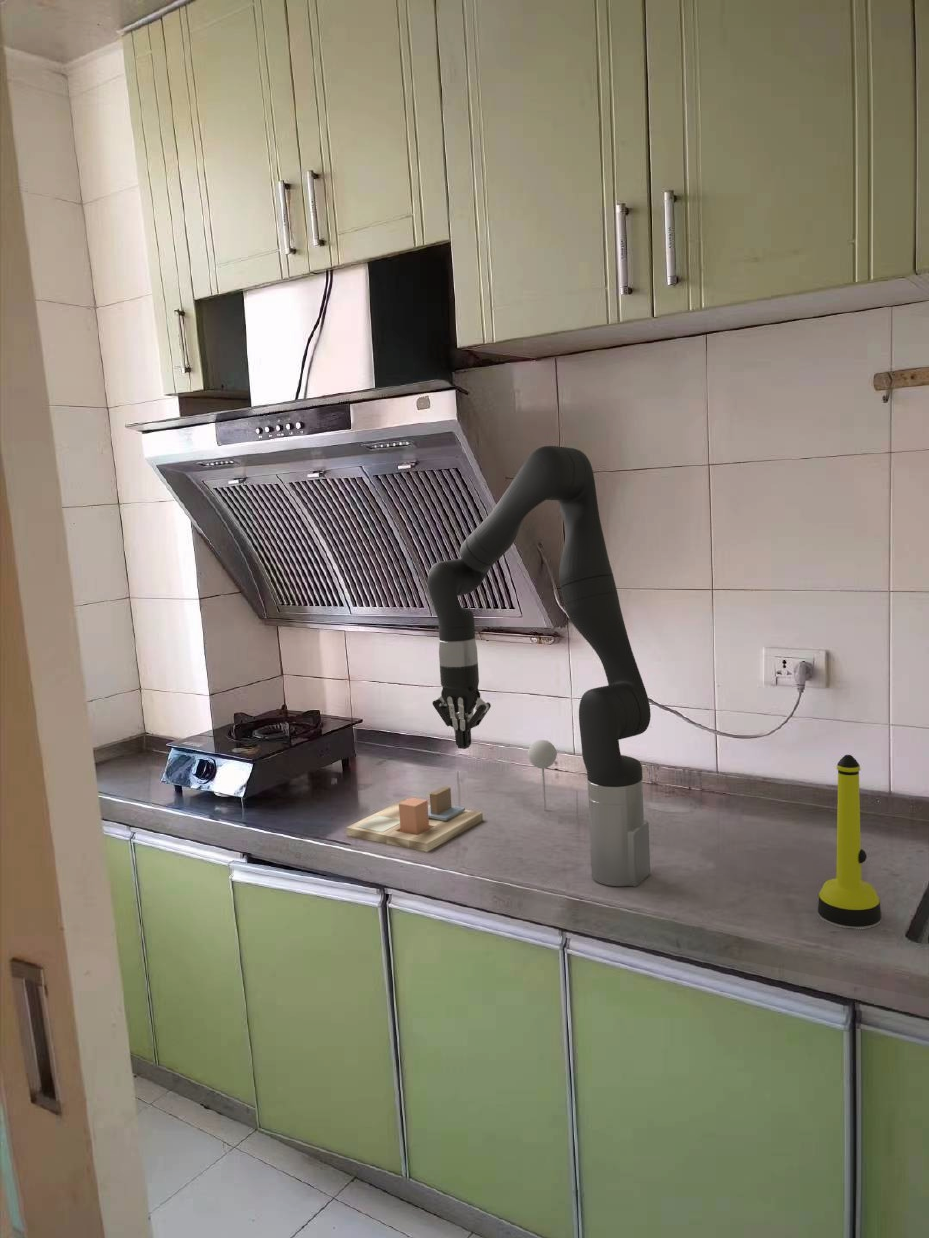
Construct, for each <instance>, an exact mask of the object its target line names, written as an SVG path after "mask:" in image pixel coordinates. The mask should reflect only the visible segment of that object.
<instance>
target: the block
mask: <svg viewBox="0 0 929 1238" xmlns="http://www.w3.org/2000/svg"><path fill="white" fill-rule="evenodd" d="M406 799H407V800H405V801H403V802H401V803H399V815H400V830H401V832H403V833H408V834H413V835H419V834H421V833H423V832H425V831H426V830H428V829H429V817H428V803H429V802H428V799H422V798H421V799H420V798H418V797H417V798H414V797H410V798H406Z"/></svg>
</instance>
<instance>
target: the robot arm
mask: <svg viewBox="0 0 929 1238" xmlns="http://www.w3.org/2000/svg"><path fill="white" fill-rule="evenodd" d="M595 480H596V479H595V475H594V470H593V466H592V464H591V462H590V459H589V458H588V456H587V455H586V454H585V453H584V451H581V450H579V449H577V448H573V447H566V446H559V445H557V446H556V445H555V446H554V445H544V446H540V447H538V448H537V449H535V450H534V451H533V452H532V453H531V454H530V455H529V456H528V458H527V459H526V460H525V461H524V463H523V464H522V466H521V467H520V469H519V470H518V472H517V473H516V475H515V476H514V478H513V480H512V481H511V483H510V484H509V486H508V488H507V489H506V490H505V492H504V493H503V494H502V496H501V497H500V499H499V500H498V502H497V504H495V507H494V508H493V509H492V510H491V512H489V514H488V515H487V516H486V518H485V519H484V520H483V521H482V522H481V523H480V524H479V525H478V526H477V527H475V529H474V530H473V531H472V532H471V533H470V534H469V535H468V536H467V537H466V539H465V540H464V541H463V542H462V543H461V546H460V549H459V553H460V557H459V558H456V559H449V560H442V561H437V562H436V563H434V564H433V565H432V566H431V568H430V569H429V572H428V575H427V588H428V589H427V590H428V592H429V596H430V599H431V601H432V605H433V608H434V612H435V613H436V614H435V615H436V616H437V621H438V638H439V642H438V643H439V644H438V646H439V647H438V658H439V659H438V661H439V675H440V677H439V678H440V686H442V689H441V693H440V697H438V698H437V699H434V700H433V701H432V706H433V707H434V709H435V710H436V712H437V714H438V715H439V716H440V718H441V719H442V721H443V722H444V724H445V725H446V727H452V729H453V730H454V735H455V744H456V746H457V748H458V749H462V750H466V749H469V747H470V746H471V745H472V729H473V728H476V727H478V726H479V725H480V724H481V722H482V721H483V719H484V717H485V716H486V715H487V713H488V712H489V710H490V708H491V706H492V705H491V703H490V702H486V701H484V700H483V699H482V698H481V693H480V691H479V682H480V679H479V677H480V675H479V673H480V672H479V660H478V657H479V656H478V647H477V642H476V629H475V628H476V627H475V616H474V613H473V611H472V610H471V609H469V608H466V607H462V606H461V603H460V600H459V596H463V595H468V594H470V593H472V592H474V591H475V590H476V589H477V588H479V587H480V586H481V584H482V583H483V581H484V580H485V578H486V576H487V575H488V573H489V572H490V569H491V567H492V566H493V565H494V564H495V563H496V562H498V561H499V560H500V558H502V556H503V555H505V553H507V551H508V550H510V548H511V547H512V546H513V544H514V542H515V541H516V539H517V537H518V533H519V532H520V528H521V524H522V522H523V520H524V519H525V518H526V517H527V515H529V513H530V512H531V511H533V510H534V509H535V508H536V507H538V506H539V505H540V504H542V503H543V502H544V501H546V500H547V501H557V502H558V505H559V508H560V510H561V515H562V520H563V525H564V534H565V535H564V544H563V548H562V553H561V557H560V562H559V569H558V581H559V587H560V591H561V596H562V600H563V603H564V609H565V611H566V615H567V617H568V618H569V621H571V623H572V625H573V627H574V628H575V629H576V630H577V631H578V632H579V634H580V635H581V636H582V637H583V638H584V640H586V642H587V643H588V644H589V646H591V648H592V649H593V650H594V651H595V653H596V654H597V655H598V658H599V659H600V662H601V665H602V666H603V667H602V668H603V671H604V673H605V676H606V680H607V684H608V685H603V686H599V687H595V688H591V689H588V690H586V691H585V692H584V693H583V695H581V698H580V700H579V701H580V702H579V704H578V705H579V706H578V723H579V724H578V725H579V726H578V727H579V732H580V734H579V735H580V742H581V745H580V746H581V755H582V761H583V763H584V766H585V770H586V778H587V781H586V782H587V801H588V802H587V803H588V804H587V805H588V826H589V847H590V849H589V851H590V853H589V854H590V869H591V871H590V872H591V878H592V879H593V880H594V881H595V882H597V883H599V884H602V885H604V886H605V885H606V886H612V887H627V886H629V887H637V886H638V885H639V884H641V883H642V882H643V881H644V880H645V879H647V877H648V876H650V875H651V859H650V858H651V857H650V856H651V855H650V854H651V853H650V824H649V821H648V820H645V819H644V817H645V815H644V790H643V788H644V787H643V783H644V782H643V767H642V763H641V762H640V761H639V760H638V759H637V758H635V757H631V756H629V755H625V754H621V749H620V740H624V739H627V738H632V737H634V736H635V737H636V736H639V735H641V734H644V733H645V731H647V729H648V728H649V726H650V722H651V717H652V716H651V714H652V713H651V706H650V705H651V704H650V700H649V696H648V693H647V689H646V687H645V684H644V681H643V678H642V675H641V673H640V670H639V668H638V664H637V662H636V659H635V656H634V652H633V650H632V645H631V642H630V640H629V635H628V631H627V627H626V623H625V621H624V617H623V613H622V609H621V604H620V598H619V593H618V589H617V586H616V582H615V581H616V580H615V577H614V573H613V569H612V566H611V563H610V562H611V561H610V560H609V555H608V550H607V546H606V540H605V537H604V531H603V527H602V523H601V518H600V517H601V516H600V512H599V504H598V497H597V489H596V482H595ZM474 709H475V712H474Z"/></svg>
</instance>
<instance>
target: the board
mask: <svg viewBox="0 0 929 1238" xmlns="http://www.w3.org/2000/svg"><path fill="white" fill-rule="evenodd" d="M407 799H408V798H405V799H403V800H401V801H398V802H396V803H394V804H392V805H389V806H388V807H386V808H384V809H381V810H380V811H378V812H376V813H374V814H371V815H369V816H367V817H365V818H363V819H361V820H359V821H357V822H355V823H352V824H350V825H348V826H346V827H345V829H346V836H348V837H353V838H358V839H362V840H366V841H367V840H368V841H373V842H377V843H382V844H386V845H392V846H395V847H396V846H397V847H401V848H405V849H410V850H416V851H420V852H425V853H428V852H430V851H432V850H434V849H435V848H437V847H438V846H440V845H442V844H444V843H446V842H448V841H449V840H451V839H452V838H455V837H456V836H458V835H459V834H461V833H463V832H465V831H466V830H468V829H470V828H472V827H473V826H475V825H478V824H479V823H480V822H482V821H483V820H484V817H483V816H484V815H483V812H482V811H478V810H477V811H476V810H470V809H465V810H464V811H463V812H461V813H459V814H457V815H455V816H453V817H452V818H450V819H448V820H446V821H444V820H438V819H433V818H429V829H428V830H426V831H425V832H423V833H421V834H419V835H413V834H408V833H403V832H401V830H400V815H399V803H401V802H403V801H405V800H407ZM429 807H430V802H428V808H429Z"/></svg>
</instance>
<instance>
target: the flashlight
mask: <svg viewBox="0 0 929 1238" xmlns="http://www.w3.org/2000/svg"><path fill="white" fill-rule="evenodd" d="M836 770H837V809H836V810H837V811H836V812H837V816H836V817H837V819H836V822H837V823H836V824H837V825H836V877H835V878H832V879H828V880H826V881H825V882H824V884H822V885H823V886H822V887H821V889H820V891H819V894H818V902H817V916H818V915H819V916H820V917H819V916H818V917H819V919H820V918H821V920H822V919H823V920H825V921H826V922H828V923H830V924H829V925H831V924H832V925H831V926H833V925H834V927H836V926H841V927H845V928H844V929H846V928H857V929H856V930H861V929H860V928H869V927H873V928H875V927H877V926H879V925H880V924H881V923H882V913H881V901H880V900H881V899H880V898H879V895H878V893H877V891H876V890H875V888H874V886H873V885H871V883H869V882H867V881H865V880H862V864H863V863H864V862H866V861H867V857H868V856H867V853H866V851H865V850H864V849H862V846H861V843H862V842H861V841H862V839H861V837H862V836H861V810H860V809H861V807H860V806H861V803H860V802H861V801H860V800H861V799H860V797H861V796H860V771H861V766H860V763H859V762H858V760H857V759H856V758H855V757H854V756H852V754H845V755H844V756H843V757H841V758H840V759H839V761H838V763H837V765H836ZM823 920H822V921H823ZM825 921H824V922H825ZM826 922H825V923H826ZM880 922H881V923H880ZM828 923H827V924H828ZM878 924H879V925H878ZM874 926H875V927H874ZM858 928H859V929H858ZM869 929H870V928H869Z"/></svg>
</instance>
